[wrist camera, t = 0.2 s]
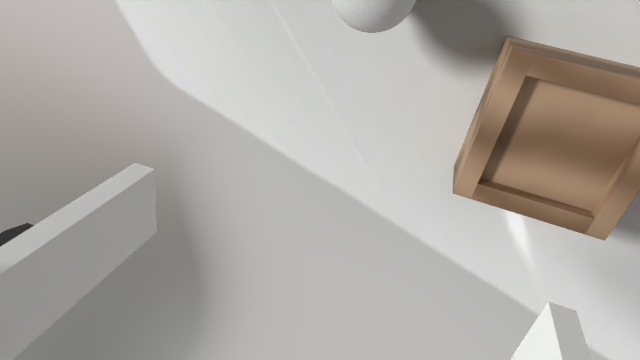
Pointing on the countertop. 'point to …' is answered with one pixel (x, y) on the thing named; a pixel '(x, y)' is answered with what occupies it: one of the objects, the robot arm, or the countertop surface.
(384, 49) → the countertop surface
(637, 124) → the tray
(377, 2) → the light bulb
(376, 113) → the countertop surface
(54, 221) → the robot arm
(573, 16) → the countertop surface
